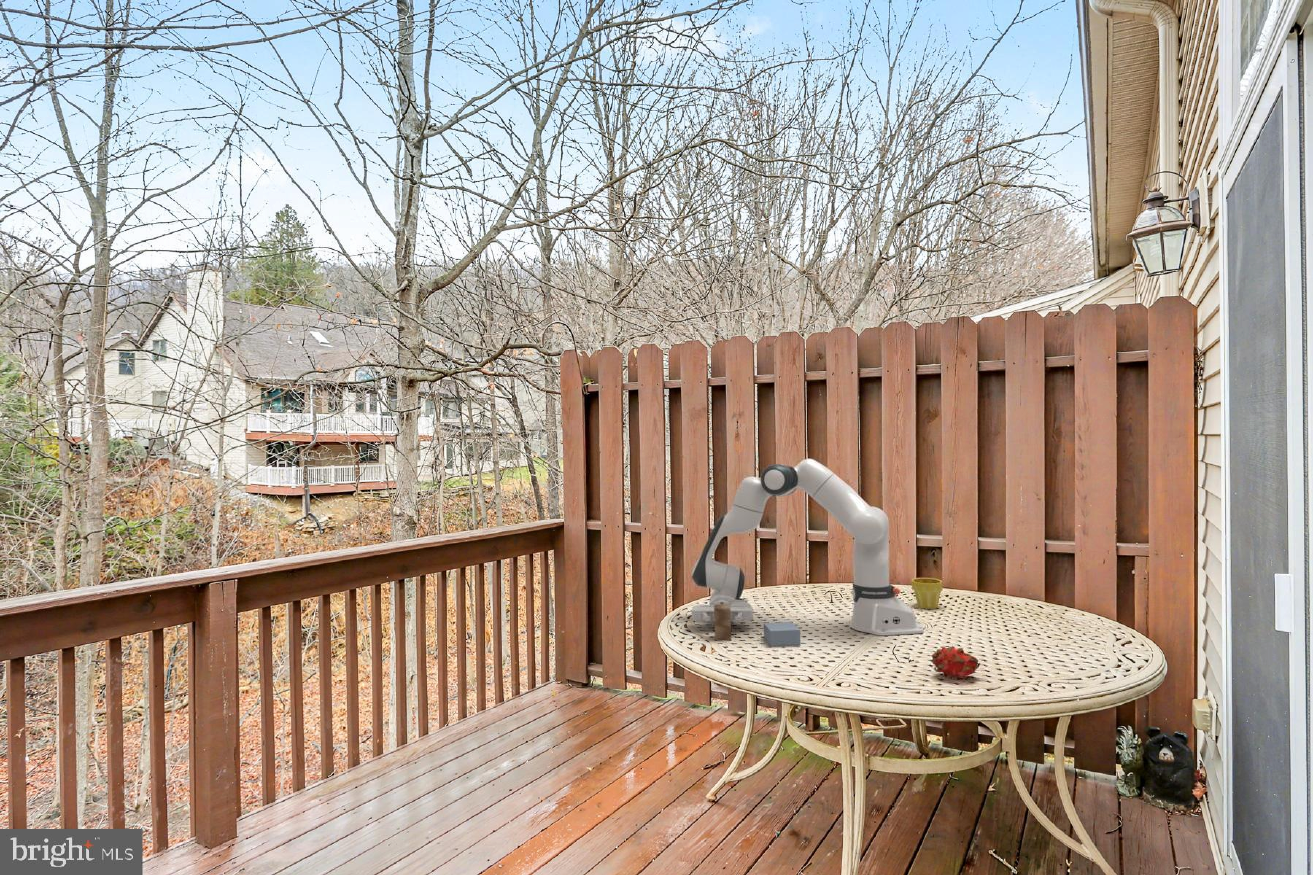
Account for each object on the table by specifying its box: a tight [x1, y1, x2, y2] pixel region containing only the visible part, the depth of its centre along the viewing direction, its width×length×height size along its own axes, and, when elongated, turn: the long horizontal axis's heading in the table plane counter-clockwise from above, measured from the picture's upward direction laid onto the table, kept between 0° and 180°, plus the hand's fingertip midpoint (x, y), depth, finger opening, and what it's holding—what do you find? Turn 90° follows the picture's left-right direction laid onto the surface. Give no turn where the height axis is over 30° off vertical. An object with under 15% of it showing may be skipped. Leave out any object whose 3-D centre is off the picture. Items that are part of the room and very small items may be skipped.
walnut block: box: [714, 605, 732, 642], centre depth 202 cm, size 5×5×10 cm
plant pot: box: [911, 577, 943, 610], centre depth 234 cm, size 10×10×10 cm
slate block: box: [763, 621, 801, 648], centre depth 197 cm, size 9×9×5 cm
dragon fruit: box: [931, 645, 981, 681], centre depth 164 cm, size 8×8×12 cm
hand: (722, 619), depth 204 cm, fingers open, 8 cm apart
